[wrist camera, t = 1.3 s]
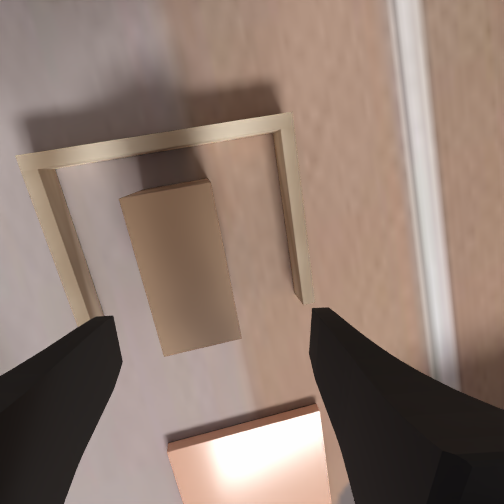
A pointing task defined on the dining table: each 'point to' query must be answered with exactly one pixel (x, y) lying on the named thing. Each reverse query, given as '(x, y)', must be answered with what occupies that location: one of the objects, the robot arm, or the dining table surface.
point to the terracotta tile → (255, 462)
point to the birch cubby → (45, 162)
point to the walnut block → (182, 265)
